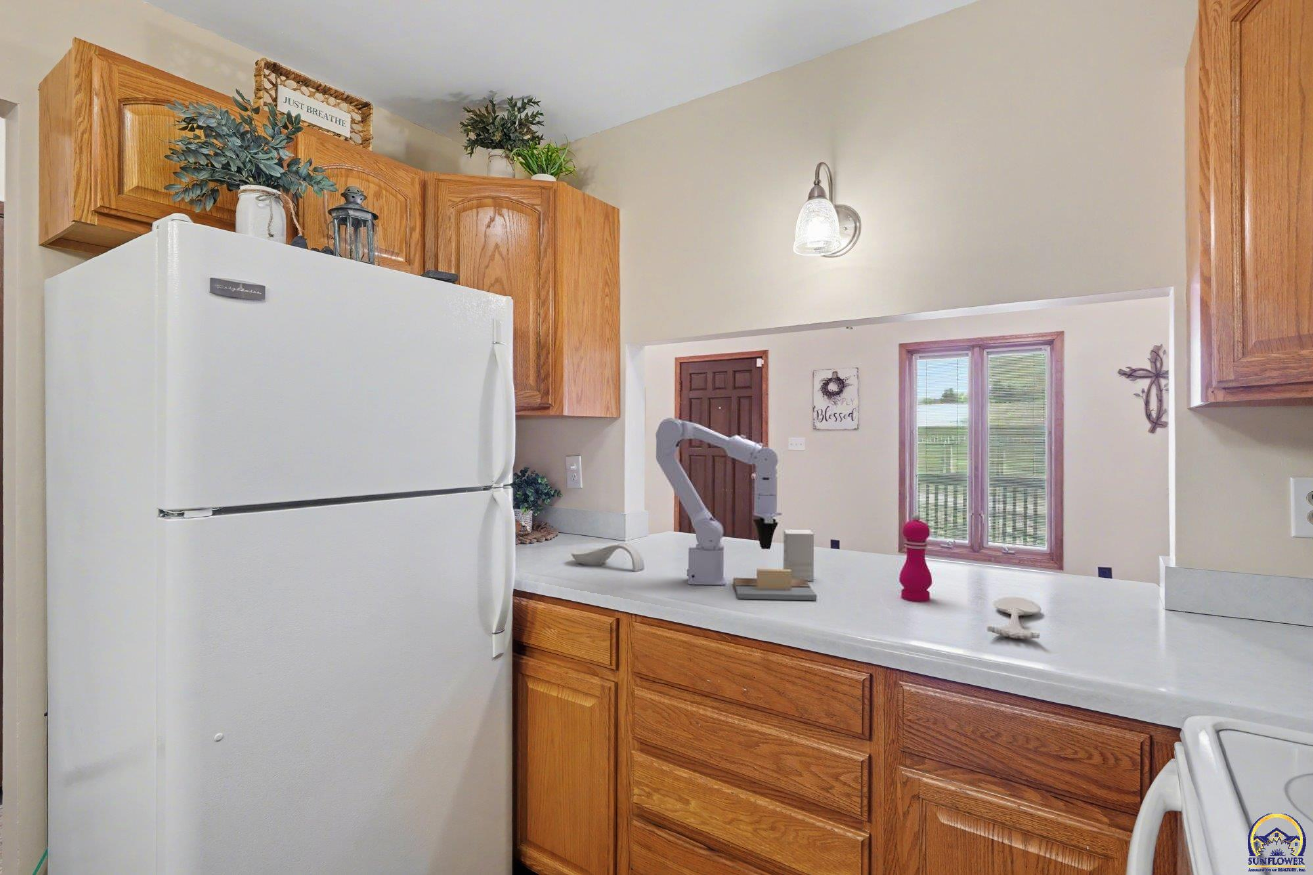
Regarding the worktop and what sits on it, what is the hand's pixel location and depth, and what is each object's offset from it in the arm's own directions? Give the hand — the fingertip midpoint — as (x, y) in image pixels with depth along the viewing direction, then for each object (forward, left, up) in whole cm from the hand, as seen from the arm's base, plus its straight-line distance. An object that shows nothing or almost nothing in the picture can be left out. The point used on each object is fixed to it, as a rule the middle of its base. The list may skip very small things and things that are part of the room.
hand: (765, 547), depth 167 cm
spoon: (+47, -31, -10) cm, 57 cm away
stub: (+1, -12, -9) cm, 15 cm away
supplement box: (+10, +9, -10) cm, 16 cm away
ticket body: (+1, -4, -9) cm, 10 cm away
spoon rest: (-43, +21, -10) cm, 49 cm away
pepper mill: (+34, -11, -10) cm, 37 cm away
